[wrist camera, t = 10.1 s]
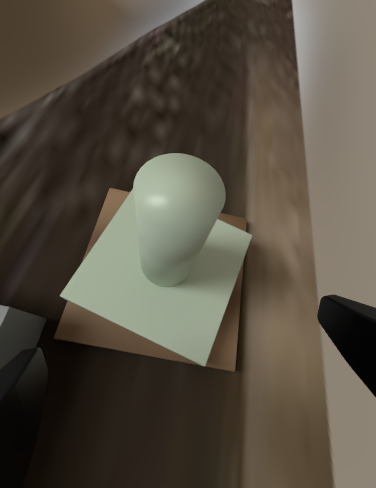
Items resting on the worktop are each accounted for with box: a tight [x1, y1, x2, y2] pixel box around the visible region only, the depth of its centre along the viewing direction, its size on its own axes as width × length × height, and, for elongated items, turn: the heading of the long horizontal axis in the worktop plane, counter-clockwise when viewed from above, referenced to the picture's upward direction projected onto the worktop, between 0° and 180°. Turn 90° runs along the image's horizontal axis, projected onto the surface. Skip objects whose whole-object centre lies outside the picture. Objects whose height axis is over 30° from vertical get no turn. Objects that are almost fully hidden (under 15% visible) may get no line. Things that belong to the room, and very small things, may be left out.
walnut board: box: [54, 188, 247, 372], centre depth 17 cm, size 11×11×1 cm
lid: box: [60, 153, 252, 367], centre depth 13 cm, size 9×9×9 cm
